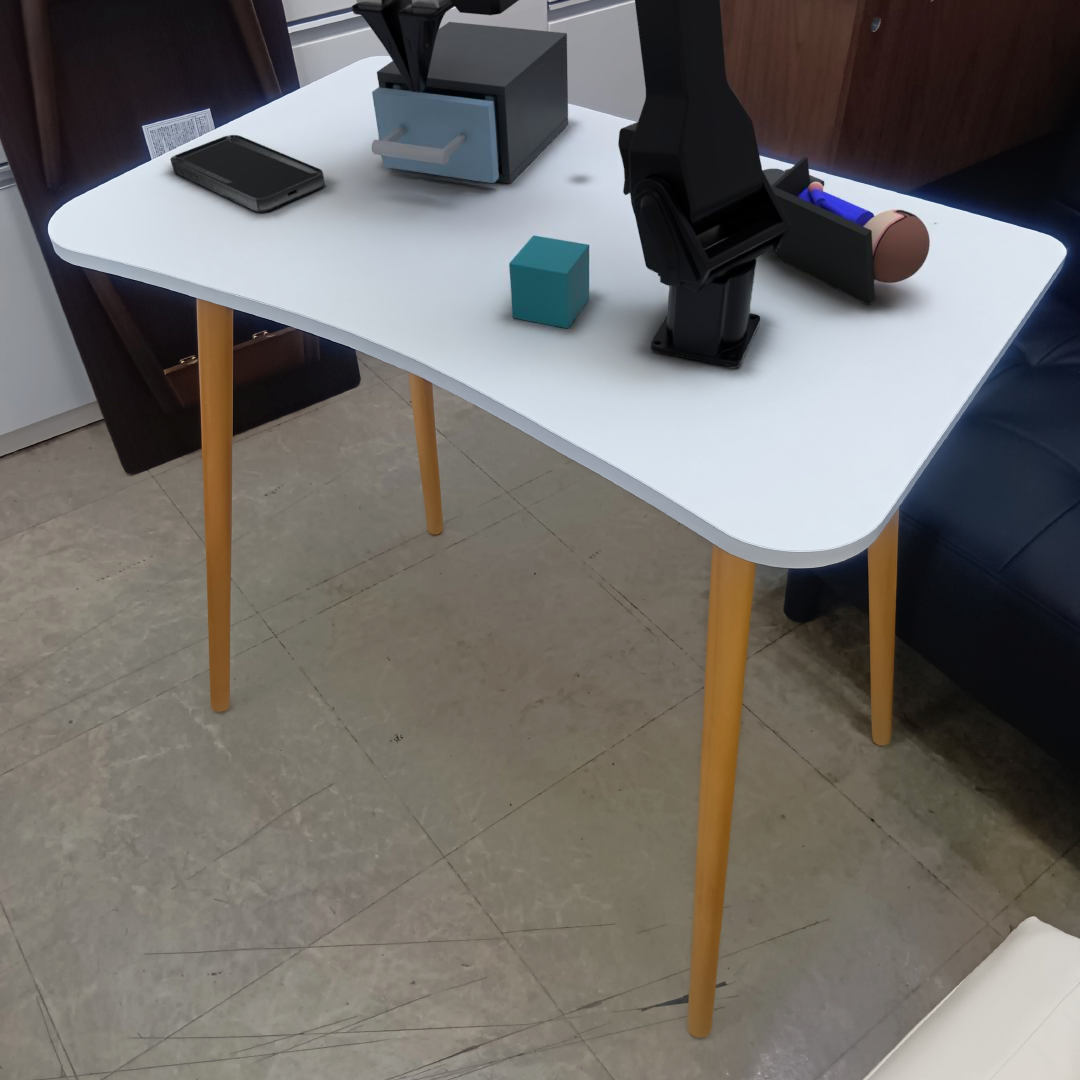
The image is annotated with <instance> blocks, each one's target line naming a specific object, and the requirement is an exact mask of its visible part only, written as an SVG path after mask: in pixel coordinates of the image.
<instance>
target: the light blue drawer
mask: <svg viewBox="0 0 1080 1080" xmlns="http://www.w3.org/2000/svg"><path fill="white" fill-rule="evenodd" d="M371 94H372V102H373V107H374V114H375V121H376V127H377V135H378V139H374V140H373V141H372V143H371V152H372V153H373V154H374V155H378V156H381V161H382V167H383V168H388V169H396V170H402V171H408V172H415V173H422V174H429V175H436V176H442V177H447V178H448V177H449V178H456V179H461V180H468V181H474V182H482V183H488V184H489V183H490V184H495V183H496V182H495V181H496V180H497V179H498V178H499V172H498V167H499V166H500V165H501V149H500V133H499V118H498V102H497V95H491V94H483V93H475V92H466V91H458V90H450V89H441V88H433V87H425V89H424V90H423V91H422V92H420V93H418V92H412V91H411V90H410V89H409V87H408V85H407V84H400V83H395V84H394V85H393V89H388V88H380V87H379V86H378V87H377V88H375V89H374V90H373V91H371Z"/></svg>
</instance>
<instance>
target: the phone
mask: <svg viewBox="0 0 1080 1080" xmlns="http://www.w3.org/2000/svg"><path fill="white" fill-rule="evenodd" d="M170 164H171V167H172V169H173V172H174V174H175V175H176V174H177V175H178V176H180V177H183V178H184V179H187V180H189V181H191V182H193V183H195V184H197V185H200V186H202V187H204V188H206V189H208V190H210V191H211V192H214V193H216V194H218V195H221V196H223V197H224V198H227V199H229V200H231V201H233V202H235V203H236V204H237V203H238V204H240V205H242V206H243V207H246V208H248V209H250V210H252V211H255V212H259V213H260V212H268V211H271V210H274V209H276V208H279V207H281V206H283V205H285V204H287V203H289V202H292V201H294V200H296V199H299V198H301V197H303V196H305V195H307V194H310V193H312V192H315V191H316V190H319V189H322V188H323V187H324V186H325V183H326V182H325V177H324V173H323V170H322V168H318V167H316V166H313V165H311V164H309V163H306V162H304V161H302V160H300V159H297V158H295V157H293V156H289V155H288V154H285V153H283V152H280V151H278V150H275V149H273V148H270V147H268V146H266V145H263V144H261V143H258V142H256V141H253V140H251V139H249V138H246V137H244V136H242V135H238V134H229V135H223V136H222V137H218V138H217V139H214V140H211V141H208V142H206V143H203V144H201V145H198V146H195V147H193V148H191V149H188V150H185V151H182V152H180V153H177V154H175V155H173V156H171V158H170Z"/></svg>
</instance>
